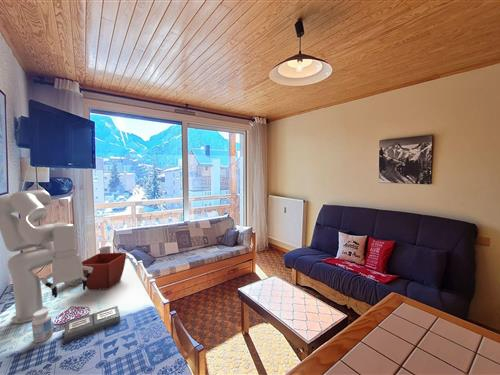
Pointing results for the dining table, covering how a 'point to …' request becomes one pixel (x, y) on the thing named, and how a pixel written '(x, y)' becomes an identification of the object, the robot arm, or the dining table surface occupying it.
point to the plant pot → (104, 270)
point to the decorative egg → (73, 282)
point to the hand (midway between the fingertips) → (70, 292)
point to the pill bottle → (42, 325)
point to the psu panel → (91, 323)
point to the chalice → (104, 249)
